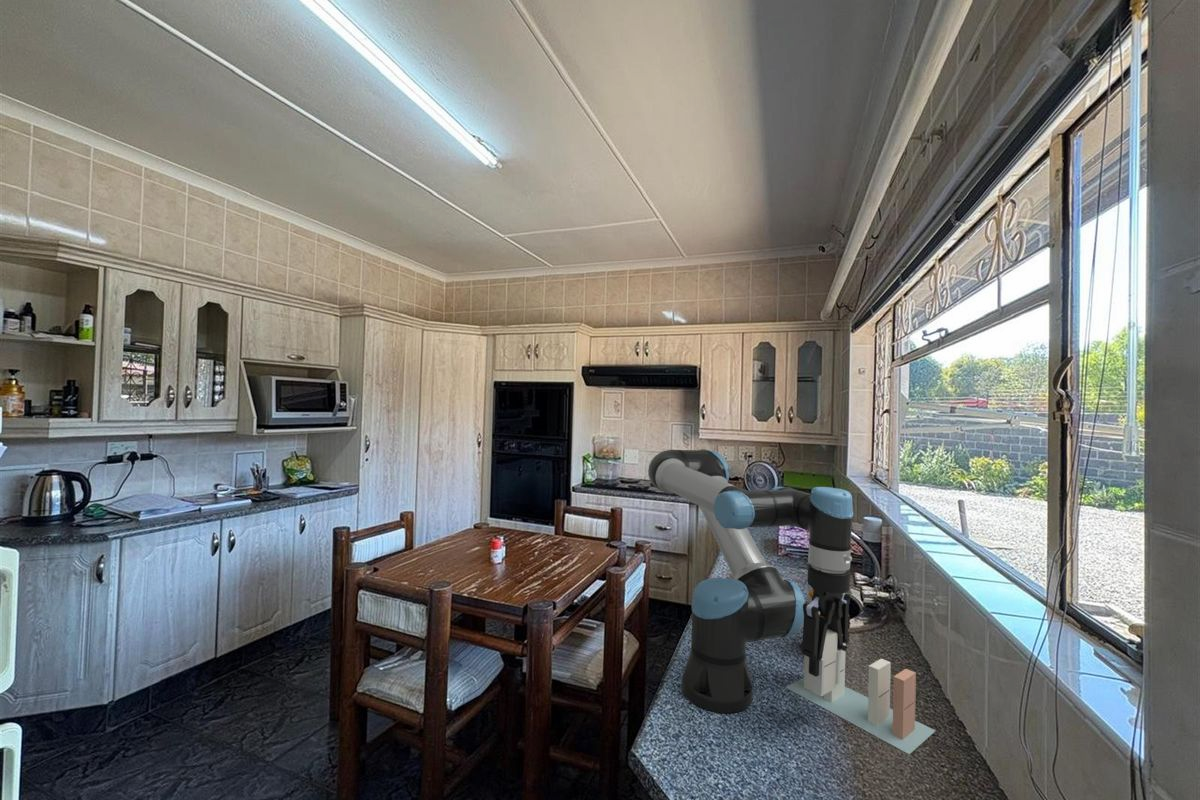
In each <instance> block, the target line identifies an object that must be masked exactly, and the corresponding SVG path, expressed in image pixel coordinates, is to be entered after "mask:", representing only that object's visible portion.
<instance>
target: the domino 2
mask: <svg viewBox="0 0 1200 800" xmlns="http://www.w3.org/2000/svg"><path fill="white" fill-rule="evenodd" d="M837 640H838V635H837V632H834V631H832V630H829V629H828V630H827V632H826V638H825V643H824V649H823V655H822V658H823V659H825V664H824V688H823V694H822V695H821V694H819V693H817V692H815V691H813V690H812V692H813V693H815V694H817V695H818V696H820V697H821V696H823V695H825V694H826V693H828V692H830V691H831V690H833V689H835V688H836V662H837Z"/></svg>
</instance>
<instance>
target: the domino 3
mask: <svg viewBox="0 0 1200 800" xmlns="http://www.w3.org/2000/svg"><path fill="white" fill-rule="evenodd" d="M843 645H844V646H847V645H846V644H845V643H843ZM845 680H846V651H843V650H841V664H840V684H839V685H837V684H836V688H835V689H833V690H831V691H830V692H828V693H826V694H825V695H823V698H824V699H826V700H828V701H830V702H833V701H835V700H836V699H838V698H840V697H841V696H843V695H844V694H845V687H846V681H845Z"/></svg>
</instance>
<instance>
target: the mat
mask: <svg viewBox="0 0 1200 800" xmlns="http://www.w3.org/2000/svg"><path fill="white" fill-rule="evenodd" d="M785 688H786V689H787V690H790V691H791V692H793V693H795V694H797V695H799V696H801V697H802V698H804V699H806V700H808V701H810V702H812V703H813V704H815V705H816V706H817V705H818V706H819V707H821V708H823V709H825V710H827V711H829V712H830V713H832V714H834V715H835V716H838V717H839V718H842V719H843V720H845V721H847V722H849V723H851V724H852V725H854V726H856V727H858V728H859V729H861V730H863V731H865V732H867V733H869V734H870V735H873V736H874V737H877V738H878V739H880V740H882V741H884V742H885V743H887V744H889V745H891V746H892V747H895V748H897V749H899V750H900V751H902V752H904V753H906V754H908V755H911V754H912V753H913V752H914V751H915V750H917V748H918V747H919V746H921V744H923V743H924V742H925V741H927V739H928V738H929V737H931V736H932V735H933V734H934V733H935V732H936V731H937V730H936V729H934V728H931V727H929V726H927V725H926V724H924V723H922V722H919V721H916V720H915V730H914V731H913V732H911V733H910V734H909V735H908V736H907V737H905V738H904V739H903V740H902V739H900V738H898V737H897V736H895V735H893V734H892V733H893V708H890V717H889V718H888V719H886V720H885V721H884V722H882V723H881V724H880V725H878V726H876V725H874V724H872V723H870V722H868V696H866V695H863V694H862V693H859V692H858V691H855V690H853V689H851V688H848V687H847V686H845V694H844V695H843V696H841V697H840V698H838V699H836V700H835V701H833V702H830V701H828V700H826V699H824V698H823V696H821V697H820V696H818V695H817V694H815V693H813V692H811V691H809V690H807V689H805V688H804V677H802V678H800V679H798V680H796V681H794V682H793V683H791V684H788V685H786V686H785Z"/></svg>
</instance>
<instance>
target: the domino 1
mask: <svg viewBox="0 0 1200 800" xmlns="http://www.w3.org/2000/svg"><path fill="white" fill-rule="evenodd" d="M803 656H804V657H803V658H804V661H803V662H804V663H803V678H804V688H805V689H807V690H809V691H811V692H812V690H811V689H809V688H808V673H809V657H808V656H806V655H804V654H803Z"/></svg>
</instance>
